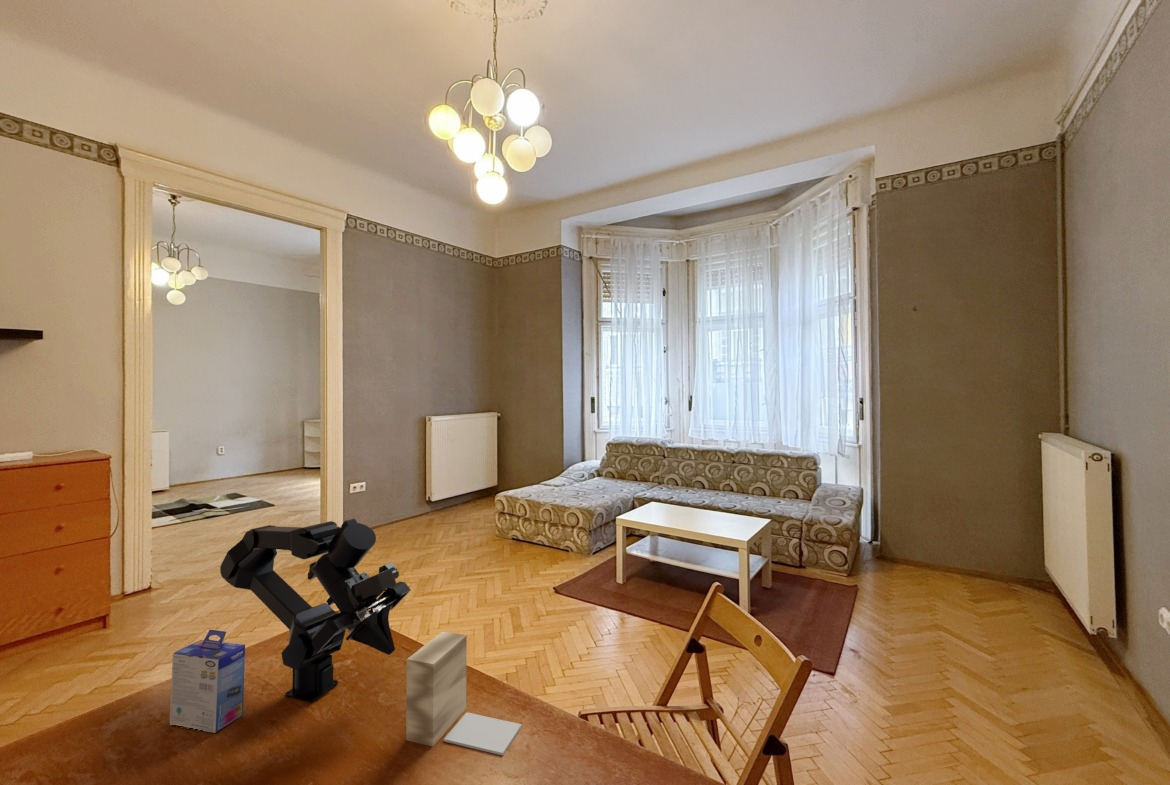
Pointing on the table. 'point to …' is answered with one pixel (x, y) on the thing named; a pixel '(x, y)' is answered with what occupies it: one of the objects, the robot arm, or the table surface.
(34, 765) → the table surface
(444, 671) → the birch block
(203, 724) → the ink cartridge box
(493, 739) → the white ceramic tile
